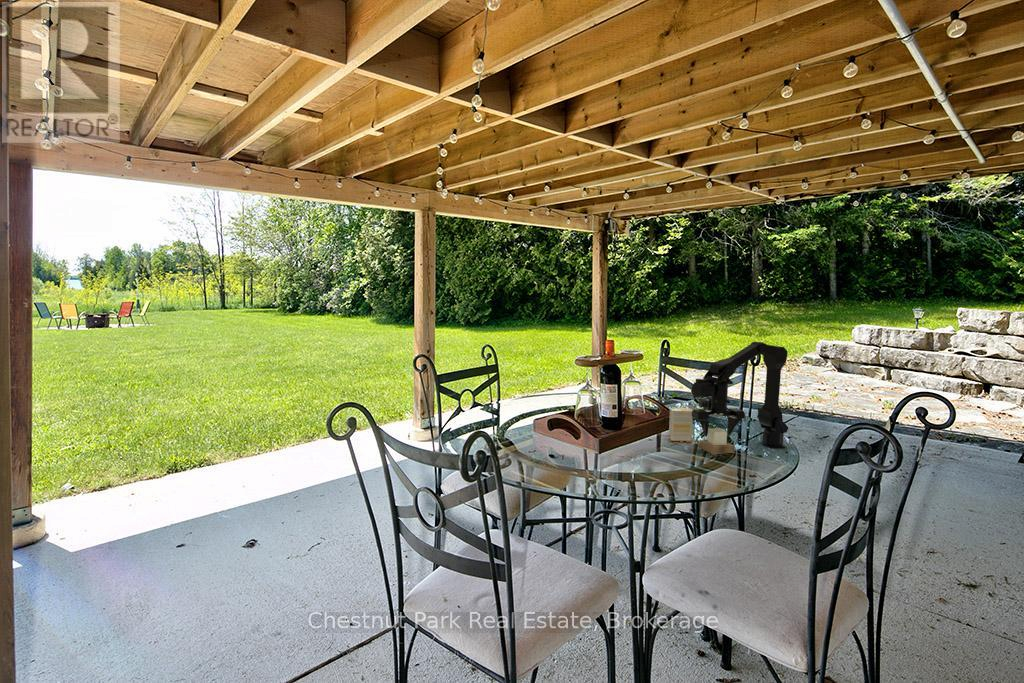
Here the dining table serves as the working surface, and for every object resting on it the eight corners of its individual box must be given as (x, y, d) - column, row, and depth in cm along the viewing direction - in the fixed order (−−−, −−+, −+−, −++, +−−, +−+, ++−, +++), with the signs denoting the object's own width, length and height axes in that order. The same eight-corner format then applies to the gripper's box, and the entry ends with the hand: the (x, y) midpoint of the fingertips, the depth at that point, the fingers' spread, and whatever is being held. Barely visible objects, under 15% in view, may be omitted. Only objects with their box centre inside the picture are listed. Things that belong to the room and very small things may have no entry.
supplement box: (688, 439, 210) (690, 407, 208) (691, 442, 205) (693, 410, 203) (668, 438, 210) (669, 407, 209) (670, 441, 206) (672, 410, 204)
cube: (719, 440, 197) (720, 428, 197) (726, 444, 192) (727, 432, 192) (707, 441, 197) (707, 428, 196) (713, 445, 192) (714, 432, 191)
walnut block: (718, 447, 200) (719, 438, 200) (734, 454, 192) (734, 445, 191) (698, 449, 198) (699, 440, 198) (713, 456, 189) (714, 447, 189)
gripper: (730, 390, 202) (728, 429, 203) (685, 391, 199) (684, 430, 201) (747, 397, 191) (744, 437, 192) (699, 398, 188) (697, 439, 190)
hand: (717, 436), depth 194 cm, fingers open, 9 cm apart
